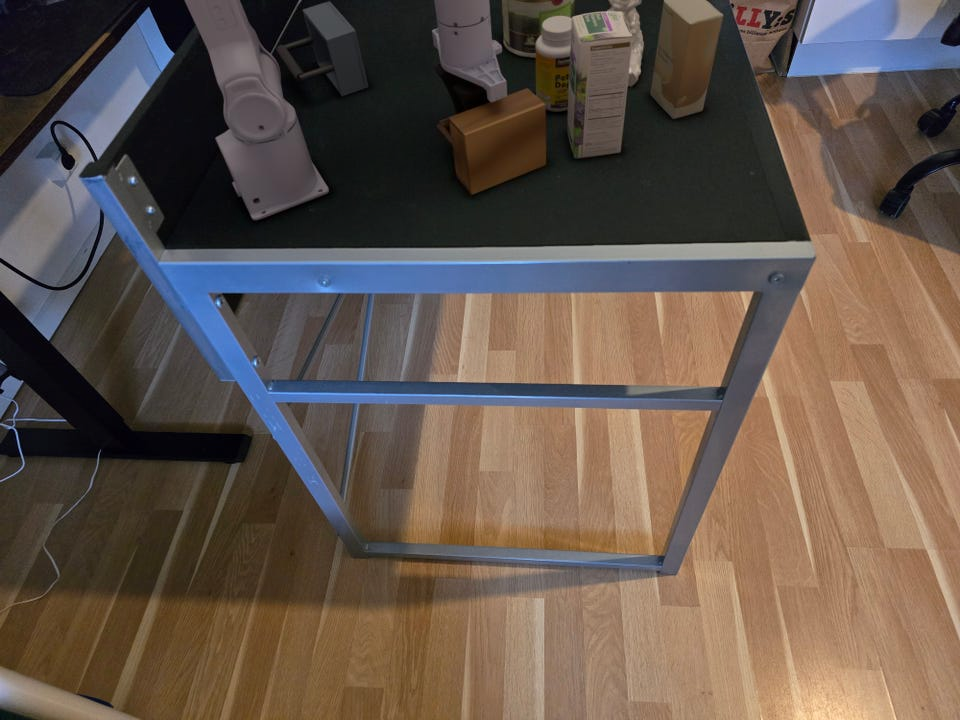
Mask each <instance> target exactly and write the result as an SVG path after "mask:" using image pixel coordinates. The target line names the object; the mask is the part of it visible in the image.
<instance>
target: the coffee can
mask: <svg viewBox="0 0 960 720" xmlns="http://www.w3.org/2000/svg"><path fill="white" fill-rule="evenodd" d="M575 3H576V0H501V10H502V11H501V12H502V26H503V27H502V30H503V40H502V41H503V45H504V48H505V49H506V50H508V51H509V52H510V53H512V54H513V55H516V56H519V57H523V58H528V59H529V58H532V59H536V48H535V47H536V41H537V39H538V38H539V37H540V36H541V35H542V34H541V33H542V23H543V22H544V21H545V20H546V19H548V18H550V17H554V16H566V17H570V18H572V17H573V16H575V7H576V6H575V5H576V4H575Z"/></svg>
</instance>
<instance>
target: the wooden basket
mask: <svg viewBox="0 0 960 720" xmlns="http://www.w3.org/2000/svg"><path fill="white" fill-rule="evenodd" d="M546 111H547V110H546V104H545V103H543V102H542V101H541V100H540V99H539V98H538V97H537V96H536V93H533V91H531V89H529V87H527V88H524V89H521V90H518V91H516V92H513V93H511V94H507V97H505V98H502V99H500V100H497V101H494V102H492V103H491V102H489V103H486V104H484V105H481V106H478V107H475V108H473V109H470V110H467V111H465V112H462V113H459V114H457V113H456V114H454V115H452V116H449V117H446V118H444V119H440V120H439V121H438V122H437V124H436V130H437V132H438V133H440V135H441V136H442V137H443V138H444V139H445V140H446V142H447V143H448V144H449V145H450V146H451V147H452V154H453V160H454V168H455V174H456V175H455V176H456V178H457V179H458V180H459V182H460V183H461V184H462V185H463V187H464V188H465V189H466V190H467V191H468V192H469V194H470V195H472V196H473V195H476V194H477V193H480V192H482V191H485V190H488V189H489V188H492V187H496V186H497V185H500V184H502V183H504V182H508V181H510V180H512V179H515V178H518V177H519V176H522V175H525V174H527V173H529V172H532V171H535V170H537V169H540V168H543V167H545V166H547V114H546V113H547V112H546Z"/></svg>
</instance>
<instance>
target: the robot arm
mask: <svg viewBox="0 0 960 720" xmlns="http://www.w3.org/2000/svg"><path fill="white" fill-rule="evenodd" d="M433 2H434V9H435V17H436V25H437V28H435V29H432V30H431V33H432V34H431V35H432V42H433V46H434V48H435V49H437V51H438V57H439V62H440V63H439V64H437V65H435V68H434V69H435V72H436V74H437V75H438V76H439V78H440V79H441V81H442V82H443V84H444V86H445V88H446V91H447V92H448V94H449V97H450V99H451V103H452V105H453V107H454V110H455V113H456V115H457V114H459V113H462V112H465V111H467V110H470V109H473V108H475V107H478V106H481V105H484V104H486V103H489V102H491V103H492V102H494V101H497V100H500V99H502V98H505V97H507V96H508V83H507V79H506V78H505V77H504V76H503V74H502V72H501V69H500V64H499V62H498V58H497V55H499V54H502V53H503V47H502V45H501V44H500V42H498V41H497V40H495V39H493V34H492V21H491V5H490V0H433ZM184 3H185V4H186V7H187V9H188V11H189V13H190V15H191V17H192V19H193V22H194V24H195V26H196V28H197V30H198V32H199V35H200V36H201V39H202V41H203V43H204V45H205V47H206V49H207V52H208V55H209V59H210V62H211V66H212V69H213V72H214V77H215V80H216V82H217V85H218V87H219V89H220V91H221V94H222V97H223V111H222V112H223V118H224V121H225V123H226V125H227V127H228V128H229V129H227V130H226V131H224V132H223V133H221V134H220V135H218V136H216V137H215V141H216V144H217V146H218V148H219V150H220V152H221V155H222V158H223V159H224V161H225V164H226V166H227V168H228V171H229V173H230V175H231V178H232V179H233V181H232V182H231V184H232V186H233V188H234V190H235V192H236V194H237V197H238V198H241V199H242V201H243V202H244V204H245V205H244V206H245V207H246V209H247V211H248V214H249V215H250V218H251V219H252V221H255V222H256V221H259V220H263V219H265V218H267V217H270V216H272V215H275V214H278V213H280V212H283V211H286V210H288V209H291V208H293V207H296V206H298V205H302V204H304V203H307V202H310V201H312V200H314V199H317V198H320V197H322V196H324V195H327V194H328V193H330V189H329V186H328V185H327V184H326V182H325V181H324V178H323V177H322V175H321V174H320V172H319V171H318V169H317V167H316V166H315V164H314V163H313V161H312V158H311V155H310V152H309V149H308V146H307V143H306V140H305V136H304V133H303V130H302V128H301V124H300V122H299V118H298V115H297V113H296V110H295V108H294V106H293V105H291V103H290V102H288V101H287V100H286V99H285V98H284V95H283V88H282V81H281V80H282V76H281V75H282V73H281V69H280V65H279V63H278V61H277V60H276V58H275V57H274V55H272V54H271V53H270V52H269V51H268V50H267V49H266V48H265V47H264V46H263V45H262V43H261V42H260V39H259V37H258V33H257V32H256V30H255V29H254V28H253V26H252V25H251V23H250V21H249V19H248V17H247V15H246V12H245V9H244V6H243V5H242V2H241V0H184Z"/></svg>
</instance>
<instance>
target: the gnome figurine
mask: <svg viewBox="0 0 960 720" xmlns="http://www.w3.org/2000/svg"><path fill="white" fill-rule="evenodd" d="M607 1H608V3H609V4H610V8H609V9H607V10H606V11H621V12H623V15H624V17H625V19H626V21H627V23H628V26H629V29H630V32H631V34H632V37H633V40H632V49H631V59H630V69H629V79H628V87H630V88H632V87H633V86H634V85H635V84H636V83H637V82H638V81H639V76H640V75H641V74H642V73H641V72H642V69H641V66H642V60H643V54H644V53H643V52H644V48H645V42H644V40H643V39H644V36H643V34H642V33H643V32H642V30H641V27H640V26H641V22H640V14H639V12H638V11H637V9H636V7H638V6H639V5H641V4H642V1H643V0H607Z"/></svg>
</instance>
